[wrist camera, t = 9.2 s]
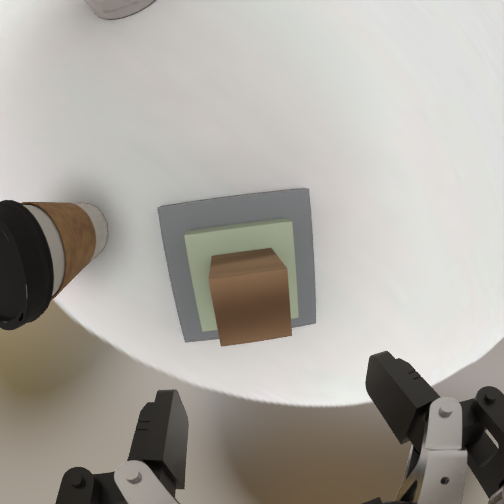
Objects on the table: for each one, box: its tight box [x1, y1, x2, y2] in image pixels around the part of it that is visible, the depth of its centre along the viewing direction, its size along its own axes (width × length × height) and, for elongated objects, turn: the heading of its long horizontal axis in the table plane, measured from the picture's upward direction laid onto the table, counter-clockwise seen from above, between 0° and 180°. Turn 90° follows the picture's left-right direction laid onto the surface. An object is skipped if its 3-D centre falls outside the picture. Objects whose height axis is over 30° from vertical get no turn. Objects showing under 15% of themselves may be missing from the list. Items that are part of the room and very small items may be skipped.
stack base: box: [158, 188, 316, 342], centre depth 26 cm, size 14×14×4 cm
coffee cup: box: [0, 200, 108, 330], centre depth 18 cm, size 8×8×15 cm
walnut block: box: [208, 248, 292, 346], centre depth 21 cm, size 5×5×6 cm
